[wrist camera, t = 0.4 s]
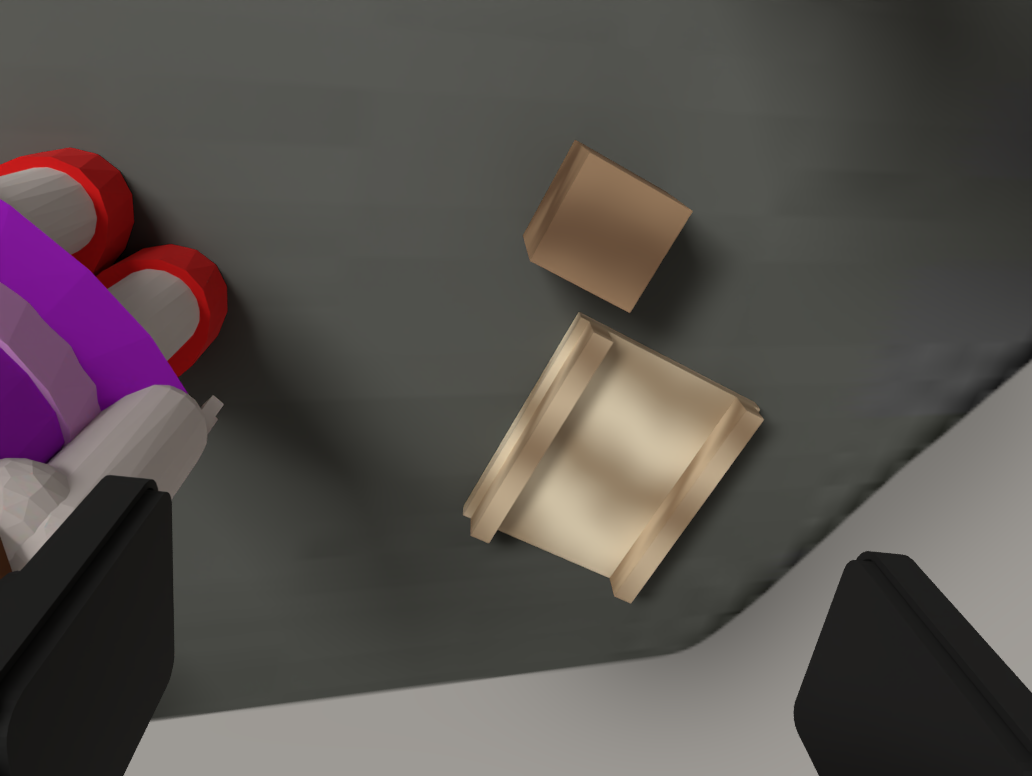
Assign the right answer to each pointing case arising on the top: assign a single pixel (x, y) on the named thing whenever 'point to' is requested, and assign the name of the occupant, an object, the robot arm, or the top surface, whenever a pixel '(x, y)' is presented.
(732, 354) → the top surface
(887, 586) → the robot arm
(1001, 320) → the top surface
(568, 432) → the board
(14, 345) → the toy
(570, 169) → the walnut block
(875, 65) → the top surface
